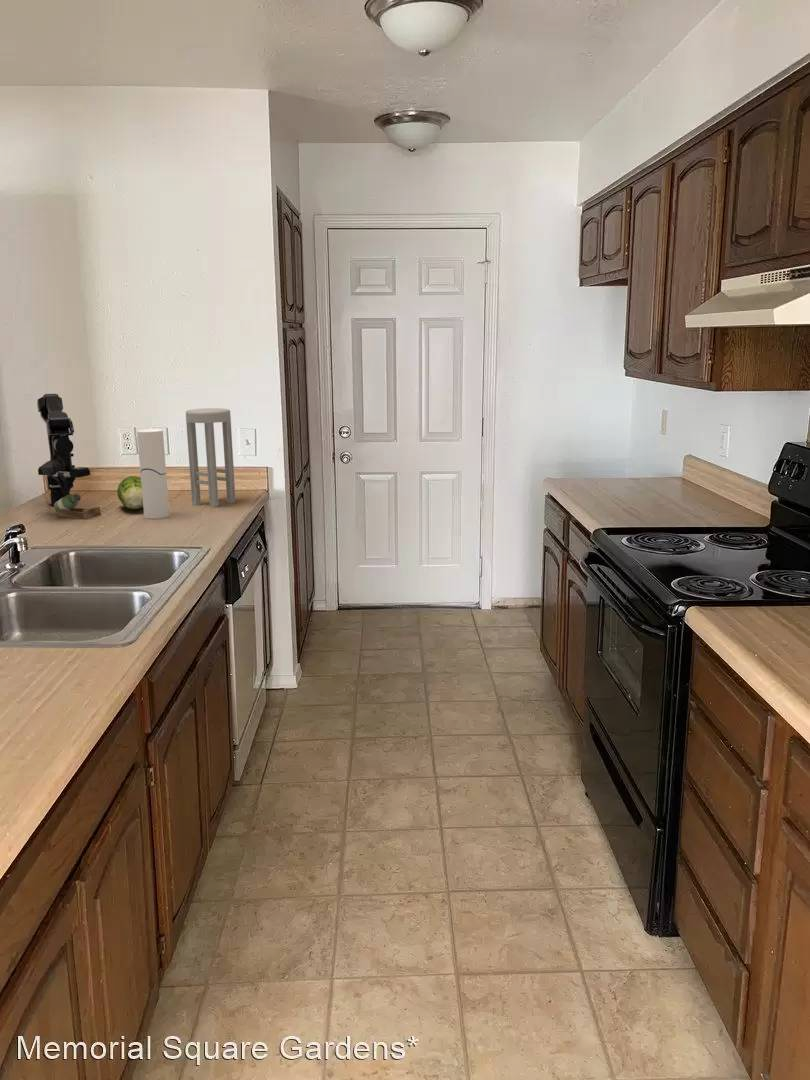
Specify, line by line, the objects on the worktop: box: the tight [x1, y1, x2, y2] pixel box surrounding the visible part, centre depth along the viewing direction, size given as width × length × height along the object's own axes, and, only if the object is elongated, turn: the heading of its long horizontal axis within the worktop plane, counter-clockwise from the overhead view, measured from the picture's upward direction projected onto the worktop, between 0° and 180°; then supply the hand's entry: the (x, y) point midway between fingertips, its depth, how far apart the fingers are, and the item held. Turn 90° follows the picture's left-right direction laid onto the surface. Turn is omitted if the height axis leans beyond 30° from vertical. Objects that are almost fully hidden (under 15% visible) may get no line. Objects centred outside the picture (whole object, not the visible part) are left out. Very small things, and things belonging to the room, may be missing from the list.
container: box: [136, 428, 170, 520], centre depth 291 cm, size 9×9×30 cm
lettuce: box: [116, 475, 143, 510], centre depth 305 cm, size 12×21×11 cm, turn 20°
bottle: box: [53, 493, 81, 514], centre depth 296 cm, size 5×5×10 cm
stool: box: [185, 407, 236, 508], centre depth 311 cm, size 16×16×35 cm
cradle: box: [57, 506, 102, 520], centre depth 295 cm, size 7×12×3 cm, turn 68°
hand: (66, 495), depth 296 cm, fingers closed
